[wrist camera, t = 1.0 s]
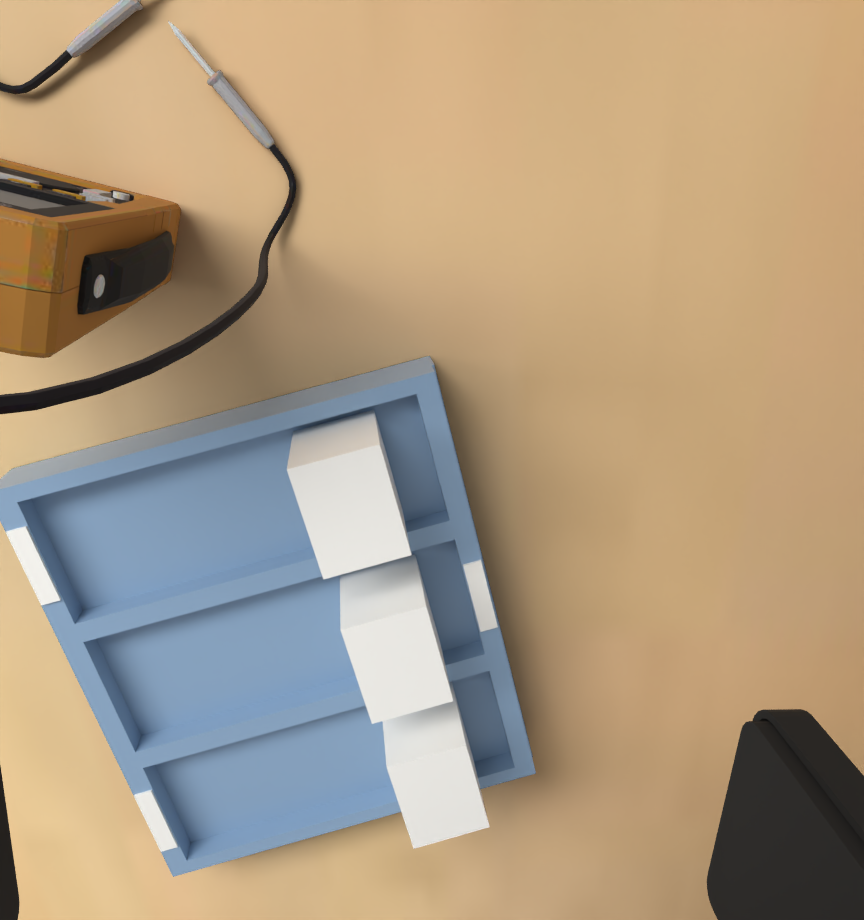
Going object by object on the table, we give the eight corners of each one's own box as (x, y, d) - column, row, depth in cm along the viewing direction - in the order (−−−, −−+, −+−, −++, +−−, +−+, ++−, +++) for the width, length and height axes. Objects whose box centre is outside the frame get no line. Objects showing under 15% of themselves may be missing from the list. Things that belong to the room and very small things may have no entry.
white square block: (451, 680, 33) (466, 745, 29) (472, 755, 34) (489, 826, 30) (380, 700, 33) (386, 767, 29) (405, 775, 34) (413, 848, 30)
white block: (373, 409, 29) (379, 444, 25) (402, 508, 30) (411, 555, 26) (292, 431, 29) (286, 469, 25) (324, 529, 30) (323, 579, 26)
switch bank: (429, 355, 30) (437, 371, 27) (524, 734, 36) (538, 774, 34) (11, 468, 29) (-18, 494, 27) (181, 831, 36) (170, 879, 33)
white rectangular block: (415, 554, 31) (426, 606, 27) (439, 640, 32) (453, 700, 28) (339, 574, 31) (340, 630, 27) (367, 660, 32) (371, 724, 28)
